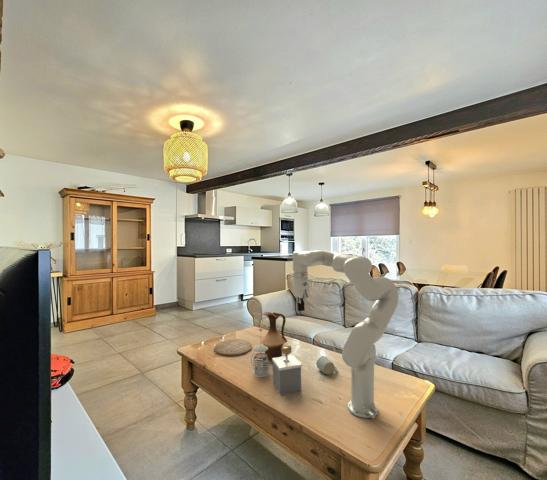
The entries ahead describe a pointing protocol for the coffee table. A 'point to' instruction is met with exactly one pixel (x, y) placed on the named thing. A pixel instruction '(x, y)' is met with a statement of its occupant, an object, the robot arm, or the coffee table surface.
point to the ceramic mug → (325, 365)
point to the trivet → (233, 347)
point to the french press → (260, 361)
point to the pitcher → (274, 336)
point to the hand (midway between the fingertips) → (301, 310)
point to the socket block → (286, 374)
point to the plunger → (286, 351)
